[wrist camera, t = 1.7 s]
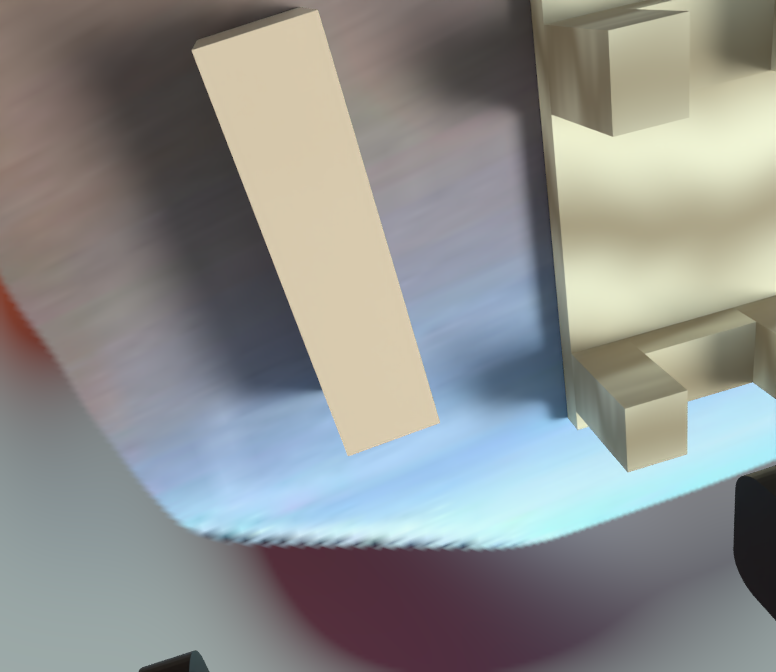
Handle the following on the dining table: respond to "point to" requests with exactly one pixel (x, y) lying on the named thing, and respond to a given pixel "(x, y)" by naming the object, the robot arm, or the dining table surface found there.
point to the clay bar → (319, 220)
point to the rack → (659, 208)
